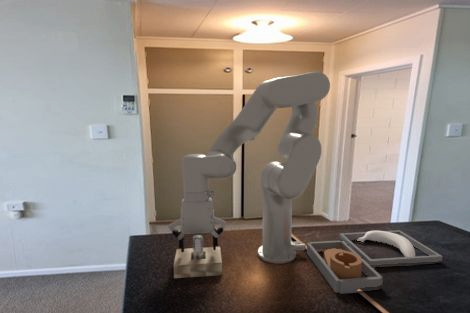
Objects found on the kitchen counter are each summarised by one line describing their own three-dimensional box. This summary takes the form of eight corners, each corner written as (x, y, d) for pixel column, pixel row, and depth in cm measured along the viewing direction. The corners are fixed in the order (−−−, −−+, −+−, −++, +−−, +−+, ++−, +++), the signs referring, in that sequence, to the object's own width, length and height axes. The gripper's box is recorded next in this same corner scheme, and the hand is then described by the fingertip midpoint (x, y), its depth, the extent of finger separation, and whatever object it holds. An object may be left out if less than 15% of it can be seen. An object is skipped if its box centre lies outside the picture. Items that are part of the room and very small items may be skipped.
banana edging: (399, 236, 110) (399, 230, 109) (441, 263, 90) (442, 256, 90) (339, 239, 107) (339, 233, 107) (369, 268, 87) (370, 261, 87)
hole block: (220, 258, 95) (220, 246, 94) (222, 275, 85) (221, 262, 84) (177, 260, 93) (176, 249, 93) (174, 278, 83) (173, 265, 83)
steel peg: (203, 264, 91) (202, 234, 89) (203, 269, 88) (202, 239, 86) (194, 265, 90) (193, 235, 89) (193, 270, 87) (192, 239, 86)
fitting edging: (342, 249, 100) (342, 240, 99) (382, 290, 77) (383, 278, 76) (306, 251, 98) (306, 242, 98) (336, 294, 76) (337, 281, 75)
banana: (426, 262, 90) (381, 265, 89) (389, 239, 108) (352, 241, 107) (427, 247, 89) (381, 249, 88) (390, 227, 108) (352, 228, 107)
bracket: (364, 290, 77) (365, 266, 76) (332, 287, 79) (333, 264, 78) (347, 256, 95) (348, 237, 94) (321, 255, 96) (322, 236, 95)
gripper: (224, 190, 90) (225, 241, 93) (168, 193, 88) (171, 245, 91) (226, 197, 83) (227, 253, 85) (165, 200, 81) (168, 257, 84)
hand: (198, 249), depth 88 cm, fingers open, 9 cm apart
